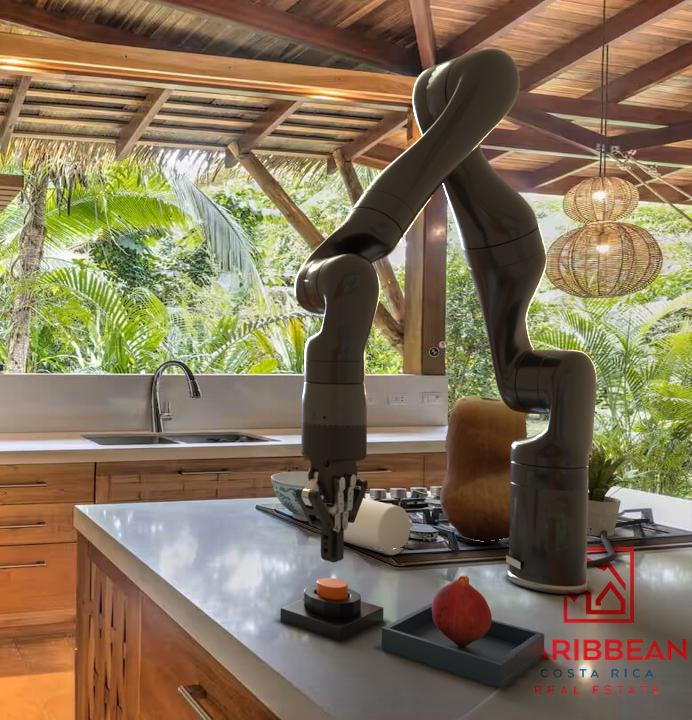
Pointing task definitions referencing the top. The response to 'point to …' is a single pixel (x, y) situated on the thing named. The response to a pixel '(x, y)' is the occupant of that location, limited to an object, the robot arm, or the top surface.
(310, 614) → the panel
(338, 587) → the button
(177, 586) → the top surface
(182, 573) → the top surface
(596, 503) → the house plant
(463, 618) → the onion
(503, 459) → the butternut squash
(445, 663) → the tray
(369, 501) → the mug
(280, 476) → the chinaware
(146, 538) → the top surface
